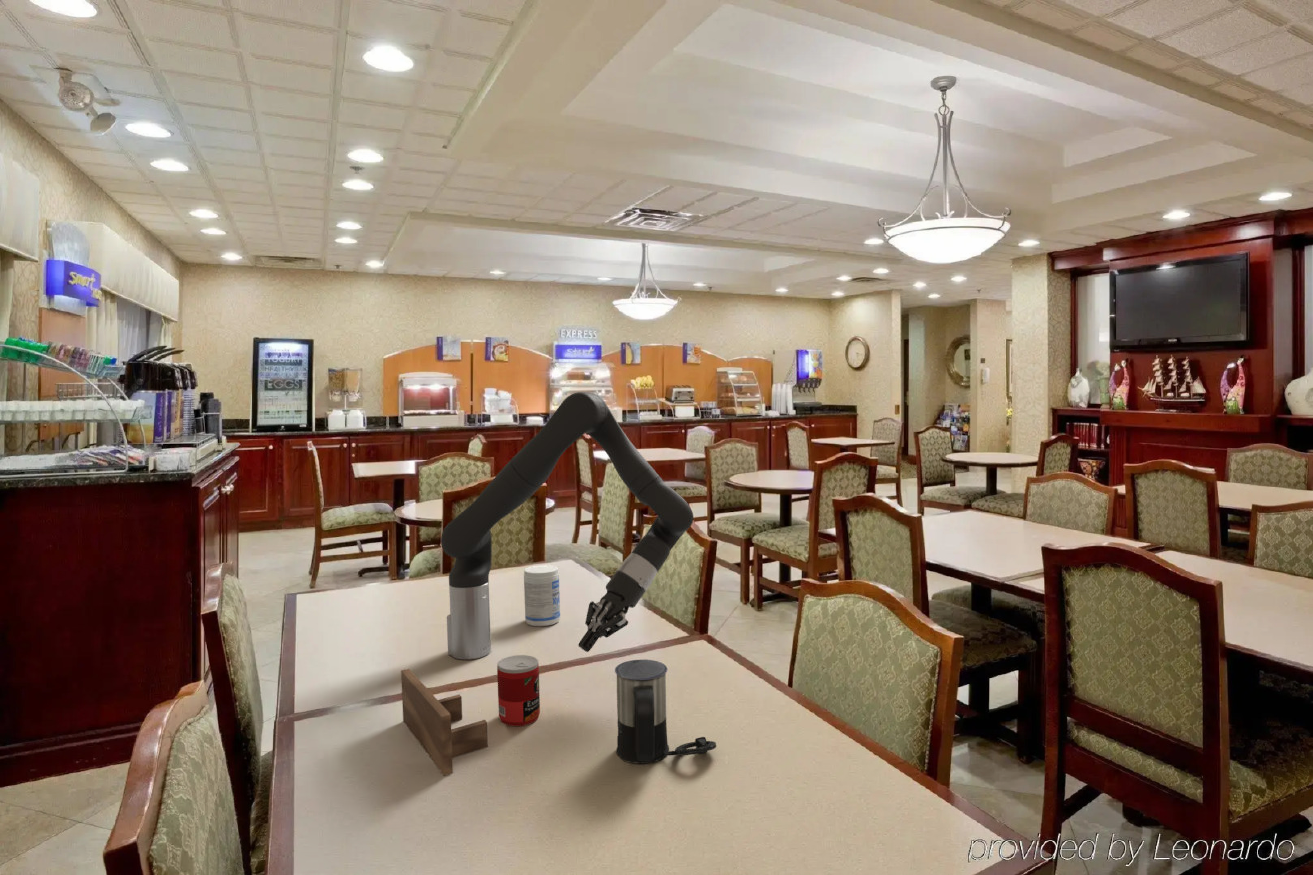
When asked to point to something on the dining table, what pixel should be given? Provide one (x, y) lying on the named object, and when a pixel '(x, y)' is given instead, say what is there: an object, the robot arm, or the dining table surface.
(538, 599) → the supplement tub
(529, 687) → the canned food
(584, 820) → the dining table surface
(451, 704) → the walnut stop
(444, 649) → the dining table surface
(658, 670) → the milk frother
